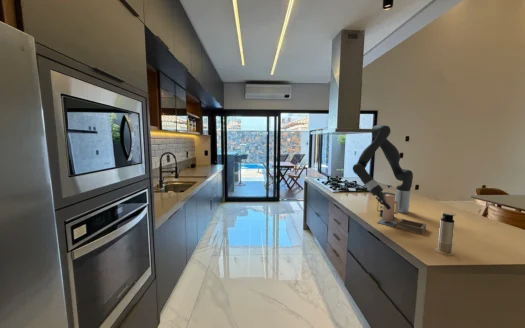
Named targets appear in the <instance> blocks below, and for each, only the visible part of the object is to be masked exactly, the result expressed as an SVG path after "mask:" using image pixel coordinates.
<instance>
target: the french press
mask: <svg viewBox="0 0 525 328" xmlns="http://www.w3.org/2000/svg"><path fill="white" fill-rule="evenodd" d="M385 187H387V189H388V190H387V191H388V192H385V191H382V192H383V193H386V194H390V195H394V196H395V197H396V193H393V192H389V191H390V188H391V187H393V185H389V184H385ZM377 203H380V202H379V201H378V200H377ZM379 207H380V208H379ZM394 208H395V203H394ZM376 210H377V212H379V216H380V217H381V218H382V215H383V205H380V206H377V208H376ZM394 218H395V214H394V215H393V219H394Z"/></svg>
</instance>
